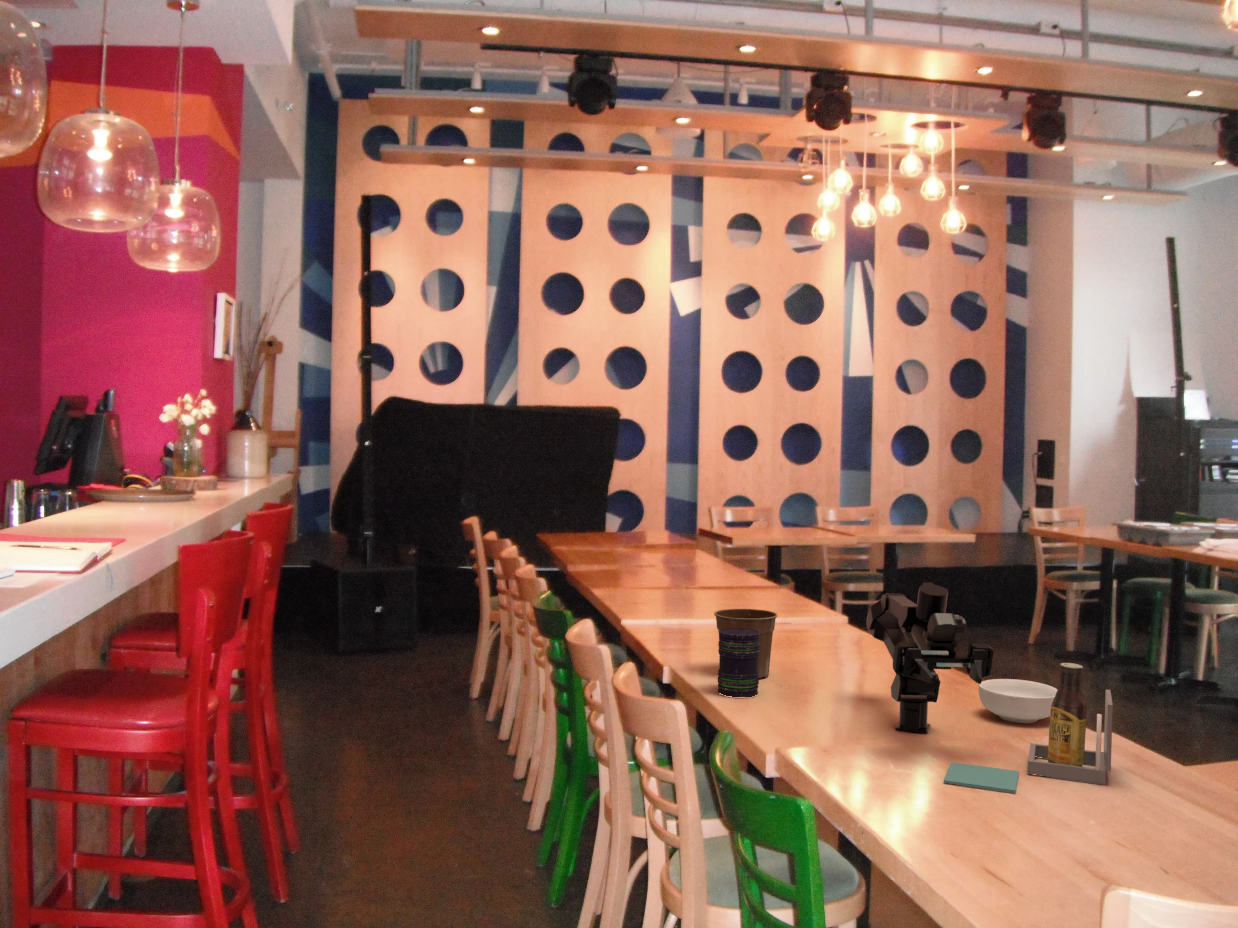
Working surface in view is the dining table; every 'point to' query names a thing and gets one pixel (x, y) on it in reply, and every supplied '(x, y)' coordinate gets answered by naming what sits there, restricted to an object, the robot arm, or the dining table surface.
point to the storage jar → (738, 662)
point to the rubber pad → (982, 777)
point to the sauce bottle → (1068, 718)
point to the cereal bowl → (1017, 699)
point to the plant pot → (755, 621)
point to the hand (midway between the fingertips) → (956, 681)
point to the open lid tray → (1090, 757)
